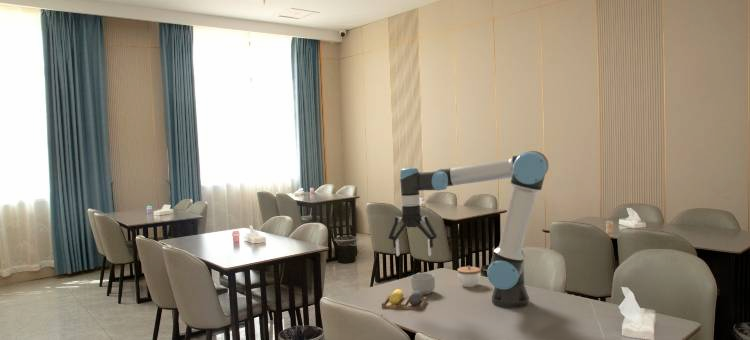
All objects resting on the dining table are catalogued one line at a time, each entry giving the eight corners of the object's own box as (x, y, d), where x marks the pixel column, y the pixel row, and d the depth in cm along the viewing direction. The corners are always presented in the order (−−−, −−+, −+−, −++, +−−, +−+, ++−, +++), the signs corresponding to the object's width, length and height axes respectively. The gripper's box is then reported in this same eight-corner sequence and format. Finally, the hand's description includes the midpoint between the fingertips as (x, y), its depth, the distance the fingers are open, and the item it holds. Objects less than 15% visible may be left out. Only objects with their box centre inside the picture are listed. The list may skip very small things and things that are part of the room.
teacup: (436, 296, 234) (435, 278, 234) (411, 296, 235) (411, 279, 234) (433, 287, 248) (432, 270, 248) (410, 288, 249) (409, 271, 248)
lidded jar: (453, 285, 249) (452, 266, 249) (467, 281, 256) (466, 262, 256) (471, 289, 241) (471, 269, 241) (485, 284, 248) (485, 265, 248)
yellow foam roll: (399, 305, 221) (398, 294, 220) (389, 304, 222) (388, 294, 222) (403, 299, 228) (403, 289, 228) (393, 298, 230) (393, 288, 229)
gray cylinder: (418, 306, 219) (419, 296, 218) (407, 304, 220) (409, 293, 219) (421, 300, 226) (423, 291, 226) (412, 298, 228) (413, 288, 227)
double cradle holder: (426, 301, 227) (426, 296, 227) (422, 309, 216) (421, 304, 216) (388, 300, 231) (387, 295, 231) (381, 308, 221) (381, 303, 221)
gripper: (441, 202, 221) (444, 253, 222) (384, 204, 227) (387, 253, 228) (439, 205, 213) (442, 257, 214) (379, 206, 220) (382, 257, 221)
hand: (413, 255), depth 221 cm, fingers open, 13 cm apart
